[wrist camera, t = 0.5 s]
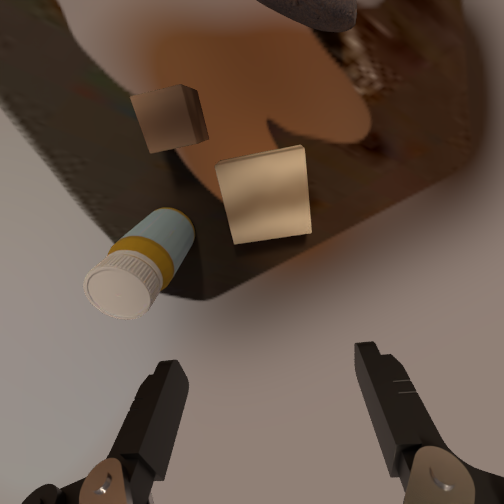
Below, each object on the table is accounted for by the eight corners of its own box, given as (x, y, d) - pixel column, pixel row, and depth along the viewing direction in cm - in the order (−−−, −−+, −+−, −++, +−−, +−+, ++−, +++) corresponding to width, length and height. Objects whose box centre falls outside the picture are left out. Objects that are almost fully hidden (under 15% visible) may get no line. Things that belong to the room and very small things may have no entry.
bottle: (153, 249, 37) (91, 321, 24) (143, 205, 34) (66, 260, 21) (198, 251, 37) (161, 324, 24) (193, 206, 34) (147, 263, 21)
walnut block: (155, 100, 28) (129, 96, 23) (197, 90, 27) (180, 84, 22) (170, 147, 30) (150, 153, 25) (209, 138, 30) (196, 143, 24)
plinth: (220, 160, 31) (214, 165, 28) (300, 144, 30) (304, 148, 26) (237, 231, 36) (234, 244, 32) (307, 221, 34) (311, 232, 31)
